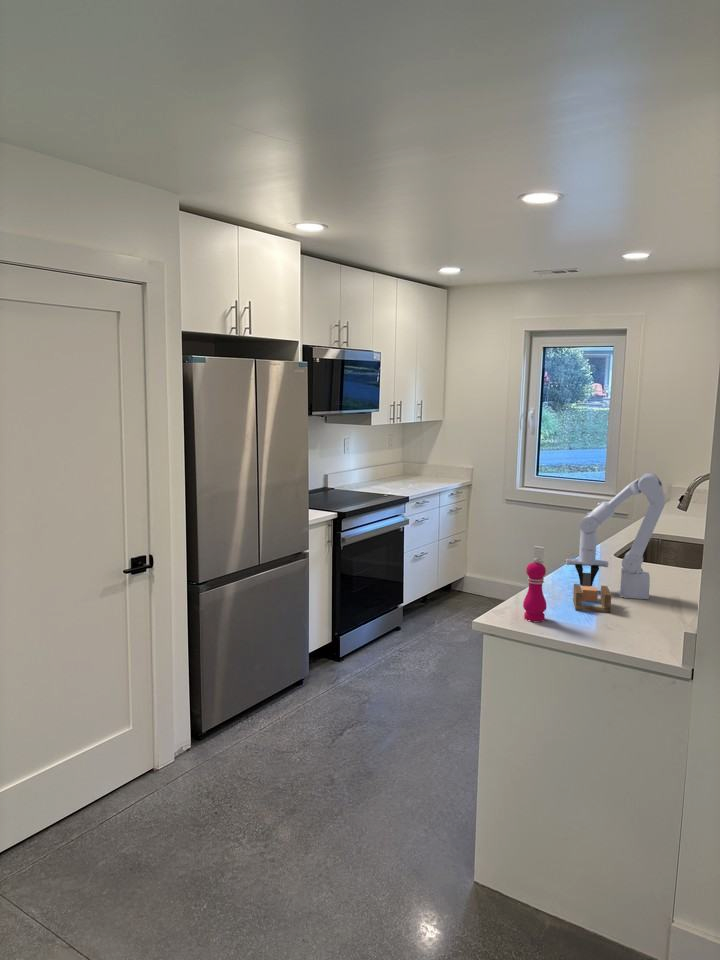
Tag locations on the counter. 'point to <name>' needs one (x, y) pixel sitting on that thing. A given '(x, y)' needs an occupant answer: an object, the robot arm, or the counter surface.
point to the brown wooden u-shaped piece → (604, 601)
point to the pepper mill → (535, 592)
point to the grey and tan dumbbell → (588, 589)
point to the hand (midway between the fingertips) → (586, 585)
